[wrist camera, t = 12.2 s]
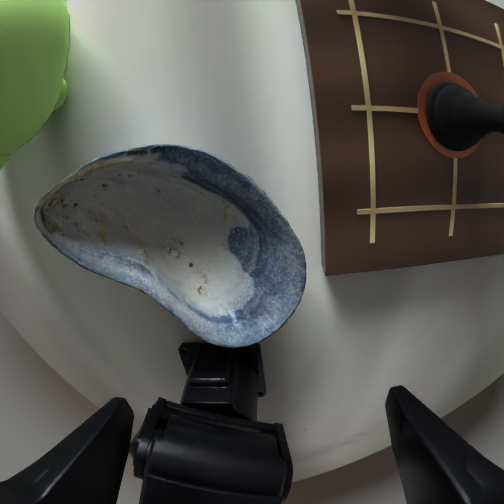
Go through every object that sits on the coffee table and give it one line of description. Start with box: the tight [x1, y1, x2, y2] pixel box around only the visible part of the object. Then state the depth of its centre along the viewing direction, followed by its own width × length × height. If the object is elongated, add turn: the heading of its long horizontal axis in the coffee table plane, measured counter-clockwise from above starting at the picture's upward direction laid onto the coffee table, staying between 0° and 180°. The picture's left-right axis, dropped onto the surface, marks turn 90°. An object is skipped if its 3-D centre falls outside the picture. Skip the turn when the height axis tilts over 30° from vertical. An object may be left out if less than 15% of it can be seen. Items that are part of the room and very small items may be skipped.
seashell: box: [34, 144, 306, 348], centre depth 17 cm, size 15×12×5 cm
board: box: [296, 0, 504, 276], centre depth 14 cm, size 20×18×2 cm
